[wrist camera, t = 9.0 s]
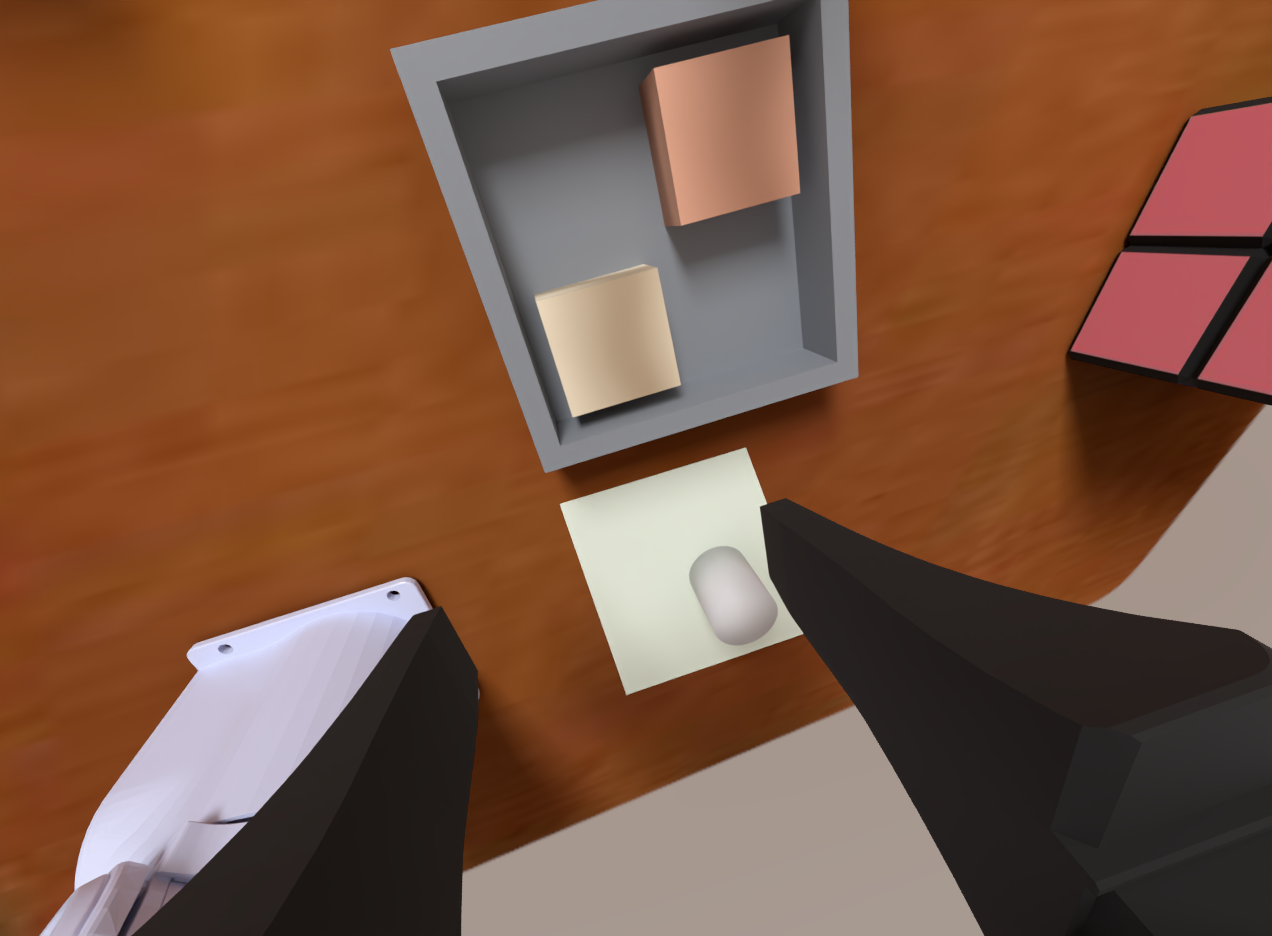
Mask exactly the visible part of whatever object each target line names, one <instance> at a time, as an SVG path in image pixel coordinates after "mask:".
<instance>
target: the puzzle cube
mask: <svg viewBox="0 0 1272 936" xmlns="http://www.w3.org/2000/svg"><path fill="white" fill-rule="evenodd" d="M1128 240H1129V242H1130V244H1131V245H1130V246H1129V247H1127V248H1126V249H1124V250H1123V251H1121V252H1120V253H1119V255H1118V256H1117V258H1116V260H1115V262H1114V264H1113V266H1112V268H1111V270H1110V272H1109V274H1108V276H1107V278H1106V280H1105V282H1104V284H1103V286H1102V288H1101V289H1100V291H1099V293H1098V295H1097V297H1096V299H1095V301H1094V303H1093V305H1092V307H1091V309H1090V311H1089V313H1088V315H1087V317H1086V319H1085V321H1084V322H1083V324H1082V326H1081V328H1080V330H1079V332H1078V334H1077V336H1076V338H1075V340H1074V342H1073V344H1072V346H1071V348H1070V350H1069V353H1070V356H1071V358H1072V359H1074V360H1079V361H1083V362H1087V363H1091V364H1096V365H1100V366H1104V367H1109V368H1113V369H1117V370H1121V371H1126V372H1130V373H1134V374H1138V375H1143V376H1147V377H1151V378H1156V379H1160V380H1164V381H1168V382H1173V383H1177V384H1182V385H1188V386H1194V387H1197V388H1199V389H1203V390H1207V391H1212V392H1216V393H1220V394H1225V395H1229V396H1233V397H1237V398H1242V399H1246V400H1250V401H1255V402H1259V403H1263V404H1267V405H1272V97H1267V98H1261V99H1256V100H1250V101H1244V102H1239V103H1233V104H1228V105H1222V106H1216V107H1211V108H1205V109H1201V110H1200V111H1198V112H1197V113H1196V114H1194V115H1193V116H1191V117H1190V118H1189V119H1188V121H1187V122H1186V124H1185V126H1184V128H1183V130H1182V132H1181V134H1180V136H1179V138H1178V140H1177V142H1176V144H1175V146H1174V148H1173V150H1172V152H1171V154H1170V155H1169V157H1168V159H1167V161H1166V163H1165V165H1164V167H1163V169H1162V171H1161V173H1160V175H1159V177H1158V179H1157V181H1156V183H1155V185H1154V187H1153V189H1152V190H1151V192H1150V194H1149V196H1148V198H1147V200H1146V202H1145V204H1144V206H1143V208H1142V210H1141V212H1140V214H1139V216H1138V218H1137V220H1136V222H1135V223H1134V225H1133V227H1132V229H1131V231H1130V233H1129V235H1128Z"/></svg>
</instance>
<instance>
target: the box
mask: <svg viewBox="0 0 1272 936" xmlns="http://www.w3.org/2000/svg"><path fill="white" fill-rule="evenodd" d="M786 35H789V40H790V54H791V68H792V83H793V97H794V111H795V125H796V139H797V153H798V167H799V182H800V193H799V194H795V195H792V196H788V197H784V198H781V199H777V200H774V201H770V202H766V203H763V204H759V205H755V206H752V207H748V208H744V209H741V210H737V211H733V212H730V213H726V214H722V215H719V216H715V217H711V218H708V219H704V220H700V221H697V222H693V223H690V224H686V225H682V226H665V225H664V219H663V214H662V209H661V203H660V198H659V193H658V187H657V182H656V177H655V172H654V166H653V161H652V156H651V150H650V145H649V140H648V134H647V129H646V124H645V118H644V113H643V108H642V102H641V97H640V92H639V86H640V84H641V83H642V82H643V81H644V79H645V78H646V77H647V76H648V74H649V73H650V72H651V71H652V70H653V68H656V67H660V66H664V65H668V64H673V63H677V62H681V61H685V60H689V59H693V58H697V57H701V56H705V55H709V54H713V53H717V52H721V51H725V50H729V49H733V48H737V47H741V46H745V45H749V44H754V43H758V42H762V41H766V40H770V39H774V38H778V37H782V36H786ZM390 51H391V54H392V57H393V60H394V62H395V65H396V68H397V70H398V73H399V76H400V79H401V81H402V84H403V87H404V90H405V92H406V95H407V98H408V100H409V103H410V106H411V109H412V111H413V114H414V117H415V119H416V122H417V125H418V128H419V130H420V133H421V136H422V139H423V141H424V144H425V147H426V149H427V152H428V155H429V158H430V160H431V163H432V166H433V169H434V171H435V174H436V177H437V179H438V182H439V185H440V188H441V190H442V193H443V196H444V199H445V201H446V204H447V207H448V209H449V212H450V215H451V218H452V220H453V223H454V226H455V229H456V231H457V234H458V237H459V239H460V242H461V245H462V248H463V250H464V253H465V256H466V258H467V261H468V264H469V267H470V269H471V272H472V275H473V278H474V280H475V283H476V286H477V288H478V291H479V294H480V297H481V299H482V302H483V305H484V308H485V310H486V313H487V316H488V318H489V321H490V324H491V327H492V329H493V332H494V335H495V338H496V340H497V343H498V346H499V348H500V351H501V354H502V357H503V359H504V362H505V365H506V368H507V370H508V373H509V376H510V378H511V381H512V384H513V387H514V389H515V392H516V395H517V397H518V400H519V403H520V406H521V408H522V411H523V414H524V417H525V419H526V422H527V425H528V427H529V430H530V433H531V436H532V438H533V441H534V444H535V447H536V449H537V452H538V455H539V457H540V460H541V463H542V466H543V468H544V471H545V473H547V472H551V471H554V470H557V469H560V468H564V467H567V466H570V465H573V464H577V463H580V462H583V461H586V460H590V459H593V458H596V457H599V456H603V455H606V454H609V453H612V452H616V451H619V450H622V449H626V448H629V447H632V446H635V445H639V444H642V443H645V442H648V441H652V440H655V439H658V438H661V437H665V436H668V435H671V434H674V433H678V432H681V431H684V430H687V429H691V428H694V427H697V426H700V425H704V424H707V423H710V422H713V421H717V420H720V419H723V418H726V417H730V416H733V415H736V414H739V413H743V412H746V411H749V410H752V409H756V408H759V407H762V406H765V405H769V404H772V403H775V402H778V401H782V400H785V399H788V398H791V397H795V396H798V395H801V394H804V393H808V392H811V391H814V390H817V389H821V388H824V387H827V386H830V385H834V384H837V383H840V382H843V381H847V380H850V379H853V378H856V377H858V347H857V310H856V273H855V235H854V198H853V161H852V123H851V86H850V49H849V12H848V0H598V1H594V2H589V3H585V4H581V5H577V6H572V7H568V8H564V9H559V10H555V11H551V12H547V13H542V14H538V15H534V16H530V17H525V18H521V19H517V20H512V21H508V22H504V23H500V24H495V25H491V26H487V27H482V28H478V29H474V30H470V31H465V32H461V33H457V34H453V35H448V36H444V37H440V38H435V39H431V40H427V41H423V42H418V43H414V44H410V45H405V46H401V47H397V48H393V49H390ZM642 264H645V265H649V266H652V267H656V268H657V269H658V274H659V278H660V283H661V288H662V293H663V298H664V303H665V308H666V313H667V318H668V323H669V328H670V333H671V338H672V343H673V348H674V353H675V358H676V363H677V368H678V373H679V378H680V383H681V385H680V386H676V387H673V388H670V389H666V390H663V391H660V392H656V393H653V394H650V395H646V396H643V397H640V398H636V399H633V400H630V401H626V402H623V403H620V404H616V405H613V406H610V407H606V408H603V409H600V410H596V411H593V412H590V413H586V414H583V415H580V416H576V417H572V414H571V411H570V407H569V404H568V401H567V398H566V395H565V392H564V389H563V386H562V382H561V379H560V376H559V373H558V370H557V367H556V364H555V360H554V357H553V354H552V351H551V348H550V345H549V342H548V338H547V335H546V332H545V329H544V326H543V323H542V320H541V316H540V313H539V310H538V307H537V304H536V300H535V294H538V293H542V292H545V291H549V290H553V289H556V288H560V287H563V286H567V285H571V284H574V283H578V282H581V281H585V280H589V279H592V278H596V277H599V276H603V275H606V274H610V273H614V272H617V271H621V270H624V269H628V268H632V267H635V266H639V265H642Z"/></svg>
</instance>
